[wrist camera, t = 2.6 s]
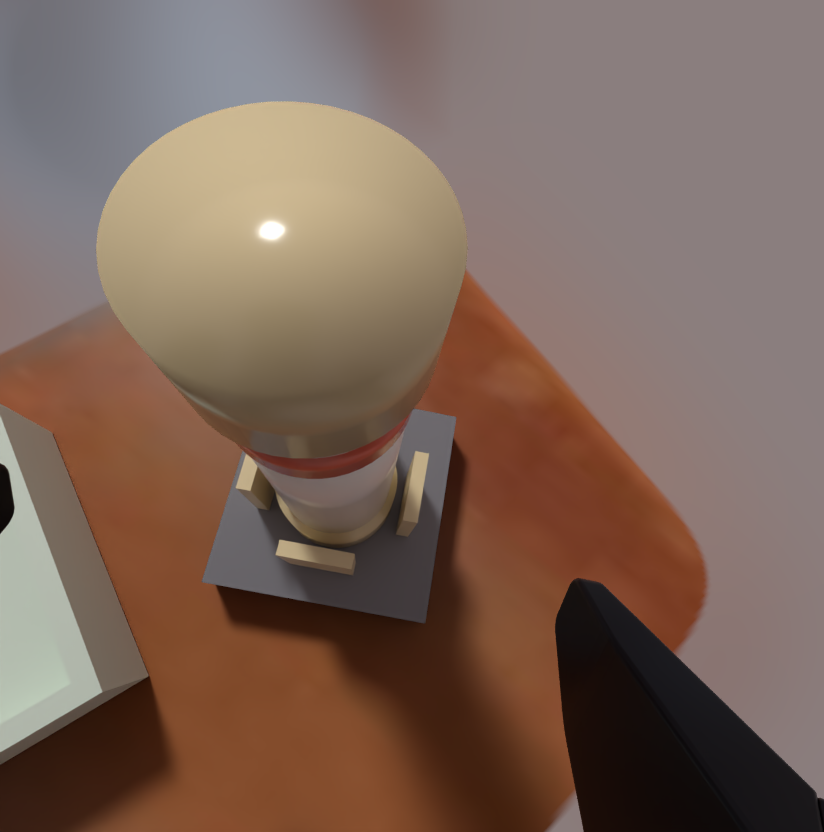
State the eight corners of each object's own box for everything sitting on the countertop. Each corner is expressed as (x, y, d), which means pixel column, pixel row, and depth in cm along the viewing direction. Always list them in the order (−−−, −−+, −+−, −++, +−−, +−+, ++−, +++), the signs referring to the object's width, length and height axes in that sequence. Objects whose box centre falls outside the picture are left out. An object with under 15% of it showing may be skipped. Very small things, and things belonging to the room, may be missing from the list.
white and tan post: (382, 557, 16) (439, 431, 4) (271, 536, 16) (27, 350, 4) (401, 452, 17) (486, 139, 6) (300, 432, 17) (173, 73, 6)
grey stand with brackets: (419, 621, 17) (439, 627, 13) (214, 583, 17) (166, 576, 12) (449, 430, 19) (474, 382, 15) (271, 395, 19) (247, 337, 15)
